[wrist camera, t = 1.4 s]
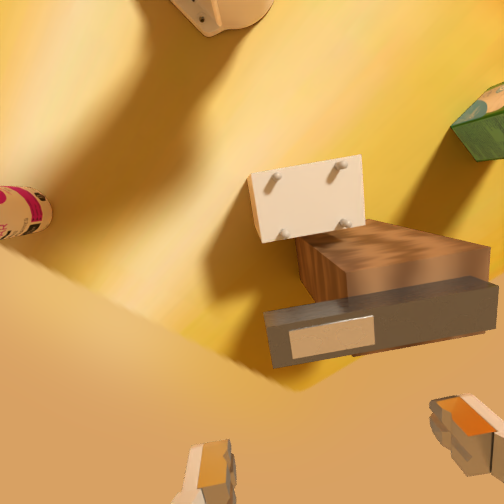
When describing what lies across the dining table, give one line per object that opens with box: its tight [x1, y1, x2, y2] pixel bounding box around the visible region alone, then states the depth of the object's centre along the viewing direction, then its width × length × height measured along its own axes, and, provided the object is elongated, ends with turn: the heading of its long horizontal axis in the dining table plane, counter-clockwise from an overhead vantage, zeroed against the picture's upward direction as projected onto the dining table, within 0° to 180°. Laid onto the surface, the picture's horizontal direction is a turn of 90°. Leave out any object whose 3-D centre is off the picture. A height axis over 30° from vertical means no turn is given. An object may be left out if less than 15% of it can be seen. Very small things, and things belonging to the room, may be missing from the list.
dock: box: [247, 154, 365, 243], centre depth 40 cm, size 14×9×18 cm, turn 100°
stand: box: [295, 219, 491, 357], centre depth 39 cm, size 15×10×25 cm, turn 100°
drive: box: [263, 275, 499, 369], centre depth 26 cm, size 22×4×3 cm, turn 100°
